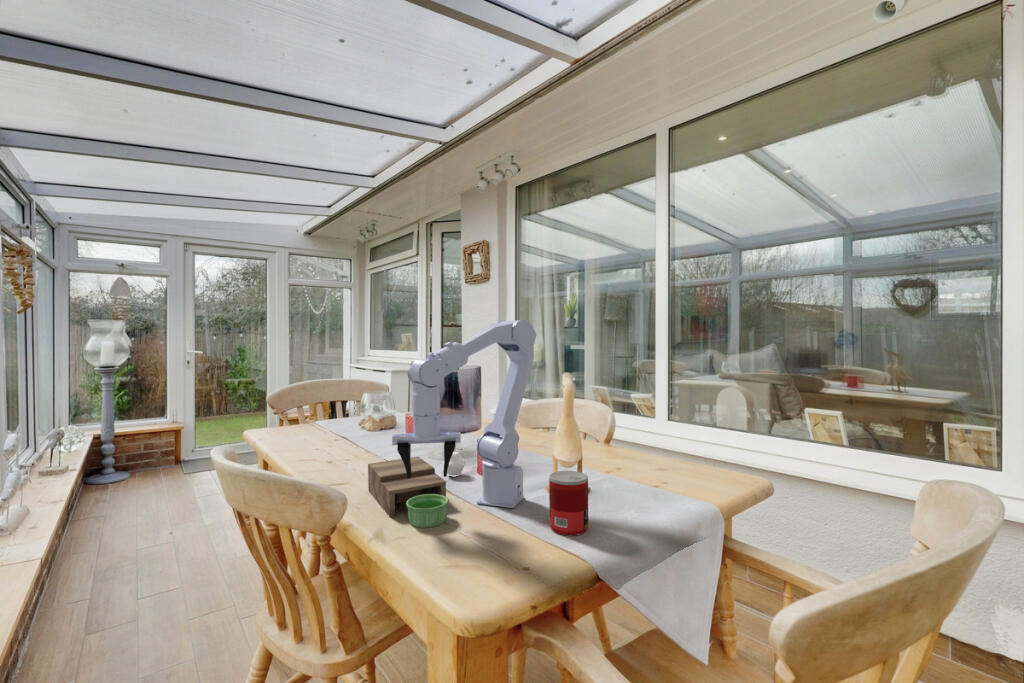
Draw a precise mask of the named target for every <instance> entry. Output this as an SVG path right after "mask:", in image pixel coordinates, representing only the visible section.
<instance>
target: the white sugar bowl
mask: <svg viewBox="0 0 1024 683" xmlns="http://www.w3.org/2000/svg"><path fill="white" fill-rule="evenodd" d="M442 465H443V467H444V461H443V463H442ZM465 465H466V461H465V460H464V459H463V457H461V453H460V452H458V451H454V452H453V454H452V456H451V459H450V462H449V465H448V470H447V475H448V474H449V475H459V474H460V475H461V474H462V472H463V470H464V468H465Z"/></svg>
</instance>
